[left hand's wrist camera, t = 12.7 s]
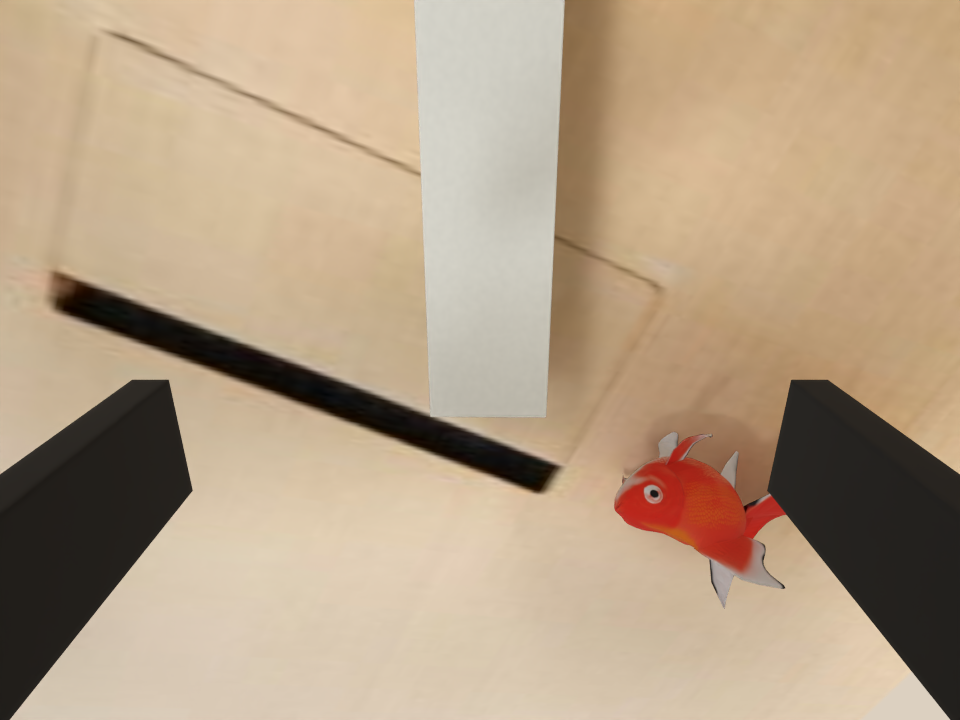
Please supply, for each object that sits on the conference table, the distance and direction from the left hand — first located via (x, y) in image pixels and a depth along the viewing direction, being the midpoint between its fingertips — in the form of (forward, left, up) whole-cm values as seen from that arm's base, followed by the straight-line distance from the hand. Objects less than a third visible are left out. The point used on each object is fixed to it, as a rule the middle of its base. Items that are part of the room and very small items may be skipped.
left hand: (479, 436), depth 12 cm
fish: (+6, -19, -21) cm, 29 cm away
